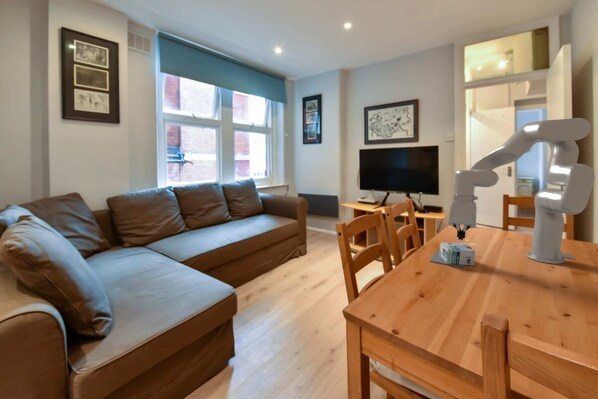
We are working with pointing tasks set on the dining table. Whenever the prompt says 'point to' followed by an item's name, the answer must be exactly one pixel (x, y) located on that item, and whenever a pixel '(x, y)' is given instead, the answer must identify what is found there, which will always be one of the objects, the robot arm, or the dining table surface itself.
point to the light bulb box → (457, 253)
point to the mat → (438, 259)
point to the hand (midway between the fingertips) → (460, 239)
